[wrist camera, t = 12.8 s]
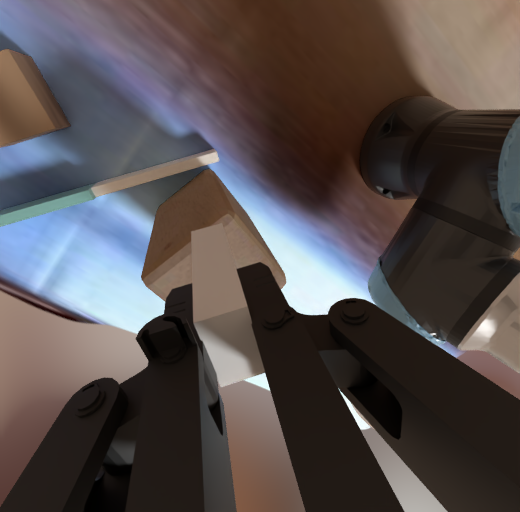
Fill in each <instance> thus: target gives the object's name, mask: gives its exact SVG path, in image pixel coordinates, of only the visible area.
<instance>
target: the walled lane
mask: <svg viewBox="0 0 520 512" xmlns="http://www.w3.org/2000/svg"><path fill="white" fill-rule="evenodd" d="M218 161H219V158H218V155H217V152H216V150H215V149H212V150H208V151H205V152H201V153H198V154H194V155H191V156H187V157H184V158H180V159H177V160H173V161H170V162H166V163H163V164H159V165H156V166H152V167H149V168H145V169H142V170H139V171H135V172H132V173H128V174H125V175H121V176H118V177H114V178H111V179H107V180H104V181H100V182H97V183H93V184H90V185H86V186H83V187H79V188H76V189H72V190H69V191H65V192H62V193H58V194H55V195H51V196H48V197H45V198H41V199H38V200H34V201H31V202H27V203H24V204H20V205H17V206H13V207H10V208H6V209H3V210H1V211H0V227H1V226H5V225H8V224H11V223H15V222H18V221H22V220H25V219H29V218H32V217H35V216H39V215H42V214H46V213H49V212H52V211H56V210H59V209H63V208H66V207H70V206H73V205H76V204H80V203H83V202H87V201H90V200H93V199H95V198H96V197H98V196H102V195H105V194H108V193H112V192H115V191H119V190H122V189H126V188H129V187H132V186H136V185H139V184H143V183H146V182H149V181H153V180H156V179H160V178H163V177H167V176H170V175H173V174H177V173H180V172H184V171H187V170H191V169H194V168H197V167H201V166H204V165H208V164H211V163H214V162H218Z"/></svg>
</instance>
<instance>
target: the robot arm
mask: <svg viewBox="0 0 520 512" xmlns="http://www.w3.org/2000/svg"><path fill="white" fill-rule="evenodd" d="M360 168H361V173H362V176H363V179H364V181H365V183H366V184H367V186H368V187H369V188H370V189H371V190H372V191H374V192H375V193H377V194H379V195H381V196H384V197H386V198H389V199H395V200H403V199H417V200H416V202H415V204H414V205H413V207H412V208H411V209H410V211H409V213H408V214H407V216H406V218H405V219H404V221H403V222H402V224H401V226H400V227H399V229H398V231H397V232H396V234H395V235H394V237H393V239H392V240H391V242H390V243H389V245H388V246H387V248H386V249H385V251H384V253H383V254H382V255H381V256H380V257H379V258H378V261H377V265H376V267H375V268H374V270H373V272H372V274H371V276H370V278H369V280H368V289H369V292H370V295H371V298H372V299H373V301H374V303H375V304H376V305H377V306H376V305H374V304H373V303H371V302H369V301H366V300H363V299H357V298H350V299H344V300H341V301H338V302H336V303H335V304H334V305H332V306H331V308H330V310H329V312H328V315H304V314H300V313H298V312H296V311H295V310H294V309H293V308H292V307H290V306H289V305H288V303H287V301H286V299H285V297H284V295H283V293H282V291H281V289H280V287H279V285H278V284H277V282H276V280H275V278H274V276H273V274H272V272H271V270H270V268H269V267H268V266H267V265H265V264H263V263H262V262H258V263H255V264H251V265H248V266H245V267H241V268H238V269H236V267H235V263H234V260H233V257H232V253H231V250H230V247H229V244H228V240H227V237H226V234H225V230H224V227H223V224H222V223H220V224H217V225H213V226H209V227H206V228H202V229H199V230H195V231H191V245H192V283H191V284H187V285H184V286H181V287H177V288H174V289H172V290H171V292H170V293H169V295H168V296H167V298H166V302H165V310H164V314H163V315H161V316H158V317H156V318H154V319H153V320H151V321H150V322H148V323H147V324H145V326H144V327H143V328H142V329H141V330H140V331H139V333H138V335H137V337H136V340H137V342H138V344H139V345H140V347H141V349H142V350H143V352H144V354H145V355H146V357H147V359H148V361H149V362H148V366H147V367H146V368H145V369H144V370H142V371H141V372H139V373H138V374H136V375H135V376H133V377H131V378H129V379H128V380H126V381H124V382H123V383H121V384H118V382H117V381H115V380H114V379H113V378H101V379H98V380H95V381H92V382H91V383H89V384H87V385H85V386H84V387H82V388H81V389H80V390H79V391H78V392H76V393H75V394H74V395H73V396H72V397H71V399H70V400H69V401H68V402H67V404H66V405H65V407H64V408H63V409H62V411H61V413H60V414H59V416H58V417H57V419H56V421H55V422H54V424H53V425H52V427H51V428H50V430H49V432H48V433H47V435H46V436H45V438H44V439H43V441H42V442H41V444H40V446H39V447H38V449H37V451H36V452H35V453H34V455H33V457H32V458H31V460H30V462H29V463H28V465H27V466H26V468H25V469H24V471H23V472H22V474H21V475H20V477H19V479H18V480H17V482H16V483H15V485H14V486H13V488H12V490H11V491H10V493H9V494H8V496H7V497H6V499H5V501H4V502H3V504H2V505H1V507H0V512H237V511H236V503H235V495H234V487H233V479H232V470H231V462H230V454H229V447H228V438H227V430H226V421H225V413H224V405H223V402H222V399H221V396H220V394H219V391H218V382H219V384H220V386H221V387H223V386H226V385H229V384H232V383H235V382H238V381H241V380H244V379H247V378H250V377H253V376H256V375H259V374H262V373H266V377H267V380H268V384H269V387H270V391H271V394H272V397H273V401H274V404H275V407H276V411H277V415H278V418H279V421H280V425H281V428H282V432H283V435H284V439H285V442H286V445H287V449H288V452H289V455H290V459H291V463H292V466H293V469H294V473H295V476H296V479H297V483H298V487H299V490H300V494H301V497H302V500H303V504H304V507H305V511H306V512H404V510H403V508H402V506H401V505H400V503H399V501H398V499H397V497H396V495H395V493H394V492H393V490H392V488H391V486H390V484H389V482H388V480H387V479H386V477H385V475H384V473H383V471H382V469H381V467H380V466H379V464H378V462H377V460H376V458H375V456H374V454H373V452H372V451H371V449H370V447H369V445H368V443H367V441H366V439H365V438H364V436H363V434H362V432H361V430H360V428H359V426H358V425H357V423H356V421H355V419H354V417H353V415H352V413H351V412H350V410H349V408H348V406H347V404H346V402H345V400H344V399H343V397H342V395H341V393H340V391H341V392H342V393H343V394H344V395H345V396H346V397H347V399H348V400H349V401H350V402H351V403H352V404H353V405H354V406H355V408H356V409H357V410H358V411H359V412H360V413H361V414H362V415H363V417H364V418H365V419H366V420H367V421H368V422H369V423H370V424H371V426H372V427H373V428H374V429H375V430H376V431H377V432H378V433H379V435H381V437H382V438H383V439H384V440H385V441H386V442H387V444H389V446H390V447H391V448H392V449H393V450H394V451H395V452H396V454H397V455H398V456H399V457H400V458H401V459H402V460H403V462H404V463H405V464H406V465H407V466H408V467H409V468H410V469H411V471H413V473H414V474H415V475H416V476H417V477H418V478H419V480H420V481H421V482H422V483H423V484H424V485H425V486H426V487H427V489H428V490H429V491H430V492H431V493H432V494H433V495H434V496H435V498H436V499H437V500H438V501H439V502H440V503H441V504H442V505H443V507H444V508H445V509H446V510H447V511H448V512H520V400H519V399H518V398H516V397H514V396H513V395H511V394H510V393H508V392H507V391H505V390H504V389H502V388H501V387H499V386H498V385H496V384H495V383H493V382H492V381H490V380H489V379H487V378H486V377H484V376H482V375H481V374H479V373H478V372H476V371H475V370H473V369H472V368H470V367H469V366H467V365H466V364H464V363H463V362H461V361H460V360H458V359H457V358H455V357H454V356H452V355H451V354H449V353H448V352H446V351H444V350H443V349H441V348H440V347H438V345H440V344H444V343H445V342H446V341H447V342H449V343H450V344H452V345H453V346H455V347H456V348H457V349H459V350H481V351H486V352H488V353H489V354H491V355H492V356H494V357H495V358H497V359H498V360H500V361H501V362H503V363H504V364H506V365H507V366H509V367H510V368H512V369H513V370H515V371H516V372H518V373H519V374H520V261H519V260H517V259H514V258H513V255H514V253H515V252H516V251H517V250H518V248H519V247H520V110H458V109H456V108H454V107H452V106H451V105H449V104H447V103H445V102H443V101H441V100H439V99H437V98H434V97H430V96H411V97H405V98H402V99H399V100H397V101H395V102H393V103H392V104H390V105H389V106H387V107H386V108H385V109H384V110H383V111H382V112H381V113H380V114H379V115H378V116H377V117H376V118H375V120H374V121H373V123H372V124H371V126H370V127H369V129H368V131H367V133H366V135H365V138H364V141H363V144H362V148H361V154H360ZM217 380H218V382H217ZM338 388H339V389H340V391H339V389H338Z"/></svg>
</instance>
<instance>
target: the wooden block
mask: <svg viewBox="0 0 520 512" xmlns="http://www.w3.org/2000/svg"><path fill="white" fill-rule="evenodd" d="M220 223H222V224H223V227H224V230H225V234H226V237H227V240H228V244H229V247H230V250H231V253H232V257H233V260H234V263H235V267H236V269H238V268H241V267H245V266H248V265H251V264H255V263H258V262H262V263H263V264H265V265H267V266H268V267H269V268H270V270H271V272H272V274H273V276H274V278H275V280H276V282H277V284H278V285H279V287H280V289H282V288H283V287H284V285H285V284H286V278H285V273H284V272H283V270H282V269H281V267H280V265H279V264H278V262H277V261H276V259H275V257H274V256H273V254H272V253H271V251H270V249H269V248H268V246H267V245H266V243H265V241H264V240H263V238H262V237H261V235H260V233H259V232H258V230H257V229H256V227H255V225H254V224H253V222H252V221H251V219H250V217H249V216H248V214H247V213H246V212H245V210H244V209H243V208H242V207H241V205H240V204H239V203H238V202H237V200H236V199H235V198H234V196H233V195H232V194H231V193H230V191H229V190H228V189H227V188H226V186H225V185H224V184H223V183H222V181H221V180H220V179H219V177H218V176H217V175H216V174H215V172H214V171H212V170H210V169H207V170H203V171H202V172H201V173H200V174H198V175H197V176H196V177H195V178H193V179H192V180H191V181H190V182H189V183H187V184H186V185H185V186H184V187H182V188H181V189H180V190H179V191H177V192H176V193H175V194H174V195H173V196H171V197H170V198H169V199H168V200H166V201H165V202H164V203H163V204H161V205H160V206H159V208H158V210H157V212H156V217H155V221H154V225H153V229H152V233H151V237H150V242H149V246H148V250H147V254H146V258H145V263H144V267H143V271H142V275H141V278H142V280H143V282H144V284H145V285H146V287H148V288H149V289H150V290H151V291H153V292H154V293H155V294H156V295H158V296H159V297H160V298H161V299H163V300H164V301H165V302H166V298H167V296H168V295H169V293H170V292H171V290H172V289H174V288H177V287H181V286H184V285H187V284H191V283H192V245H191V231H195V230H199V229H202V228H206V227H209V226H213V225H217V224H220Z"/></svg>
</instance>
